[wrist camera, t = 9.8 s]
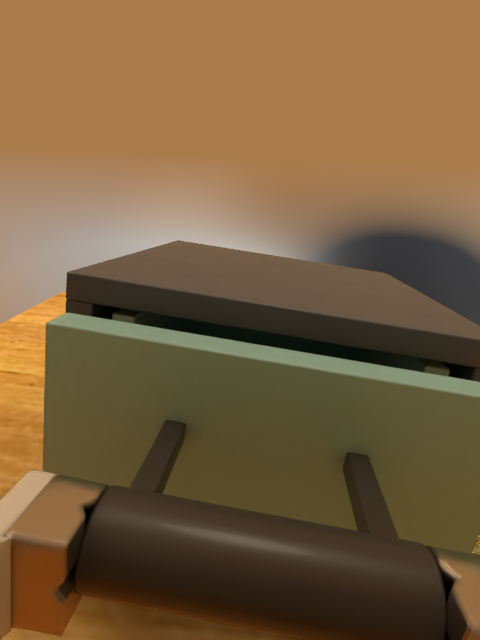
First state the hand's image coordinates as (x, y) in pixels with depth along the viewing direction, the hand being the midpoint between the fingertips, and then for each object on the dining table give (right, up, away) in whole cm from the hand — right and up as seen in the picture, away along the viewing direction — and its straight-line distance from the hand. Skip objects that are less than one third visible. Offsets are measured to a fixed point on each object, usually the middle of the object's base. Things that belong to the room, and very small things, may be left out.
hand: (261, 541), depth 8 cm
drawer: (0, -3, +9) cm, 10 cm away
